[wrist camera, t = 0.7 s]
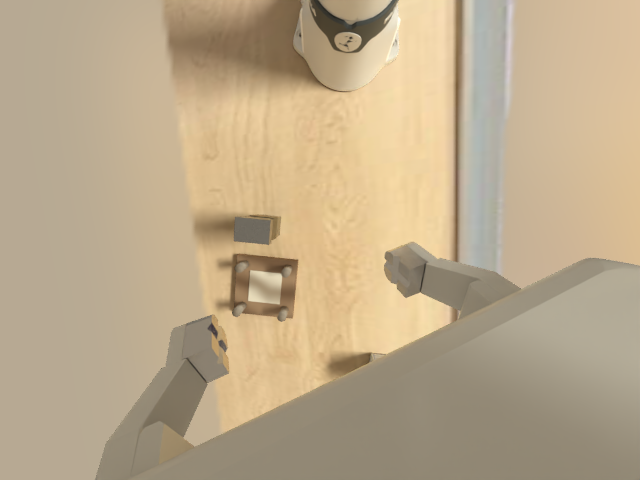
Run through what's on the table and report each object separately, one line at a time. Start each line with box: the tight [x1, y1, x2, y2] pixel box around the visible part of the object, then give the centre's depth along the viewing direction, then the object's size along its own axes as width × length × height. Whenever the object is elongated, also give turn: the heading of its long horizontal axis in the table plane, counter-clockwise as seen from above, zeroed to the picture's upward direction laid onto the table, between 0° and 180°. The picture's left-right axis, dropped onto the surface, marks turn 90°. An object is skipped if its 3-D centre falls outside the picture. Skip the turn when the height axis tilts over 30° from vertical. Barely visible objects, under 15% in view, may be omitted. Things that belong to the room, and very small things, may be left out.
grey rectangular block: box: [234, 215, 281, 245], centre depth 41 cm, size 4×5×13 cm
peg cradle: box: [232, 254, 298, 322], centre depth 46 cm, size 12×12×5 cm
